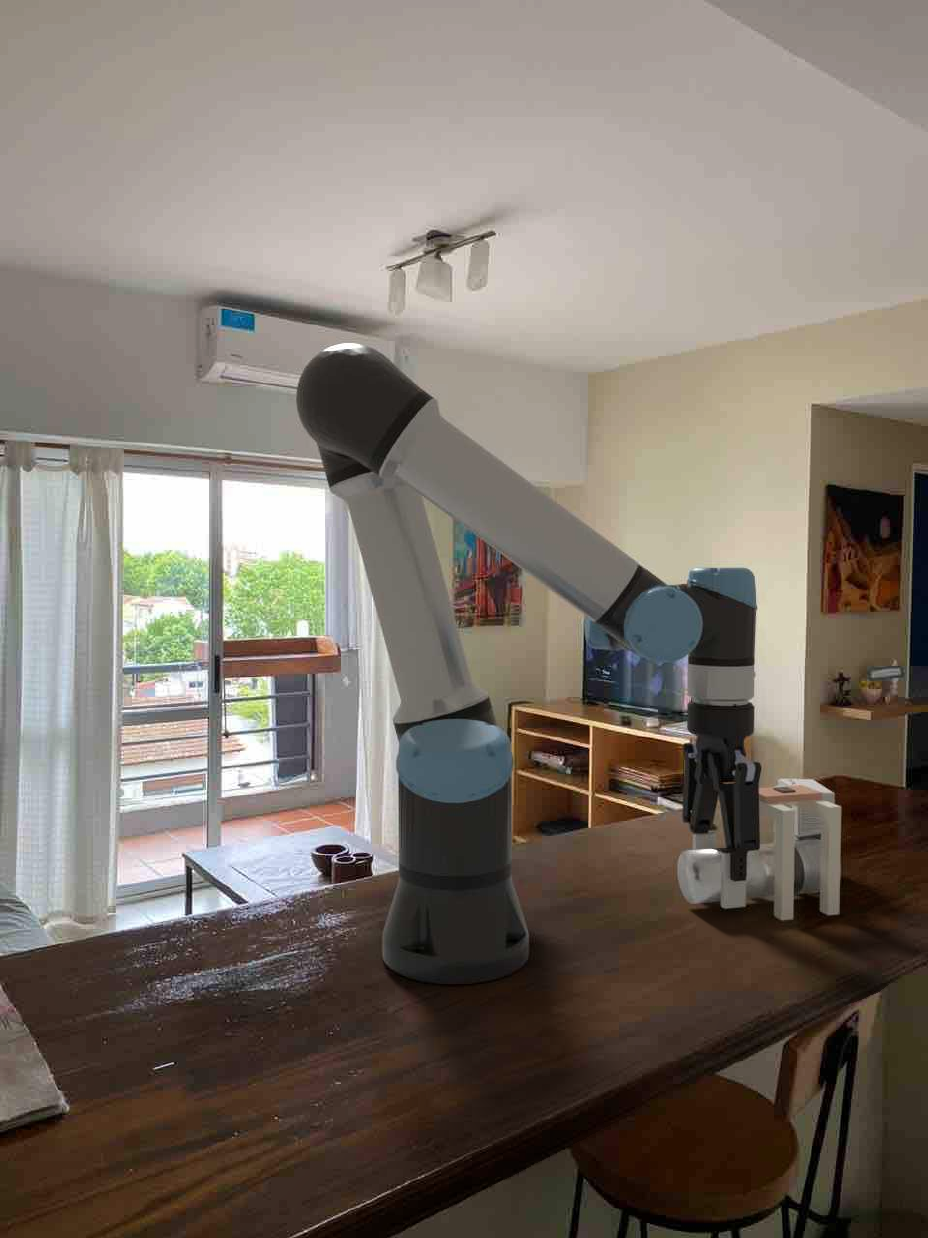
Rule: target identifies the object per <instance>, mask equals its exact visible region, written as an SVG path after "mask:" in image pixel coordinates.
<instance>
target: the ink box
mask: <svg viewBox="0 0 928 1238" xmlns="http://www.w3.org/2000/svg"><path fill="white" fill-rule="evenodd" d="M777 782H778V783H777V786H781V785H786V786H796V785H803V786H806V787H809V788H811V789H814V790H817V791H819V792H822V799H823V800H825V801H828V802H830V803H833V804H836V801H835V799H836V794H835V792H834V791H832V790H830V789H829V788H827V787H825V786H824V785H823V784H820V783H819V782H817V781H816V780H815V779H811V778H778V781H777ZM792 809H793V810H795V838H794V842H795V841H808V840H820V839H821V817H820V816H817V815H815V814H813V813H810V812H808V811H805V810H803V809H800V808H798V807H796V806H793V805H792Z"/></svg>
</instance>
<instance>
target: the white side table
mask: <svg viewBox="0 0 928 1238" xmlns="http://www.w3.org/2000/svg"><path fill="white" fill-rule="evenodd" d="M792 805H793V806H796V807H798V808H800V809H803V810H805V811H808V812H810V813H813V814H815V815H817V816H820V817H821V871H820V892H819V912H821V913H823V914H825V915H826V916H834V915H835V916H837V915H840V902H841V901H840V899H841V898H840V897H841V896H840V895H841V892H840V891H841V890H840V889H841V887H840V886H841V879H840V864H841V848H842V847H841V844H842V843H841V841H842V837H841V835H842V834H841V833H842V806H841V805H838V804H836V803H835V804H833V803H830V802H828V801H825V800H823V799H822V792H819V791H817V790H814V789H811V788H809V787H806V786H803V785H796V786H786V785H781V786H778V785H774V786H770V787H769V786H768V787H759V815H762V816H764V817H765V818H766V817H767V818H768V819H770V820H772V821H773V843H775V878H774V896H773V916H774V917H775V918H777V919H778V920H780V921H790V920H794V898H795V897H794V838H795V810H793V809H792ZM734 841H735V840H734Z"/></svg>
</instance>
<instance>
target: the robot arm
mask: <svg viewBox="0 0 928 1238" xmlns="http://www.w3.org/2000/svg"><path fill="white" fill-rule="evenodd" d="M296 387H297V388H296V397H295V402H296V411H297V413H298V417H299V419H300V423H301V425H302V427H303V428H304V430H305V431H306V433H307V434H308V435H309V437H310V438H311V439H312V440H313V441H314V442H315V443H316V445H317V449H318V452H319V453H318V454H319V455H320V460H321V463H322V467H323V470H324V474H325V478H326V481H327V484H328V488H329V491H330V493H332V495H334V496H336V497H338V498H340V499H341V500H343V501H344V503H346V504H347V508H348V510H349V511H348V512H349V515H350V519H351V522H352V527H353V529H354V533H355V537H356V540H357V544H358V549H359V552H360V555H361V559H362V563H363V567H364V570H365V575H366V578H367V581H368V584H369V588H370V592H371V596H372V600H373V603H374V607H375V611H376V615H377V617H378V621H379V625H380V629H381V632H382V636H383V641H384V644H385V648H386V651H387V654H388V655H387V656H388V658H389V662H390V666H391V669H392V674H393V676H394V681H395V684H396V688H397V691H398V694H399V695H398V696H399V699H400V704H399V706H398V708H397V709H396V711H395V713H394V716H393V717H392V722H393V726H394V730H395V733H396V734H395V735H396V736H397V742H398V749H397V752H398V753H397V754H396V760H395V770H396V772H397V777H398V779H397V782H398V785H397V787H398V789H397V790H398V791H397V792H398V794H397V795H398V798H397V800H398V881H397V882H398V883H397V885H396V889H395V893H394V896H393V898H392V902H391V906H390V908H389V912H388V914H387V918H386V921H385V924H384V927H383V931H382V937H381V942H382V943H381V944H382V947H381V949H382V953H381V954H382V959H383V963H384V964H385V965H386V966H387V967H388V968H389V969H390V970H392V971H393V972H395V973H396V974H399V975H401V976H403V977H406V978H409V979H412V980H414V981H415V980H416V981H420V982H425V983H431V984H440V985H468V984H469V985H470V984H471V985H472V984H478V983H484V982H490V981H493V980H494V981H495V980H497V979H501V978H504V977H506V976H508V975H511V974H513V973H515V972H517V971H518V970H519V969H521V968H522V967H523V966H525V964H526V963H527V962H528V959H529V957H530V956H529V954H530V935H529V934H530V933H529V930H528V927H527V924H526V920H525V917H524V914H523V911H522V908H521V904H520V902H519V898H518V896H517V895H518V894H517V892H516V890H515V889H516V888H515V885H514V882H513V874H512V873H513V872H512V871H513V869H512V868H513V866H512V864H513V863H512V860H513V857H512V855H513V854H512V853H513V852H512V851H513V849H512V848H513V845H512V844H513V842H512V841H513V838H512V837H513V832H512V831H513V830H512V829H513V824H512V823H513V822H512V820H513V819H512V818H513V817H512V815H513V809H512V808H513V805H512V804H513V803H512V802H513V801H512V800H513V799H512V798H513V797H512V795H513V794H512V789H513V788H512V787H513V786H512V784H513V781H512V780H513V779H512V777H513V776H512V775H513V771H514V764H515V763H514V761H515V760H514V755H513V752H512V744H511V743H512V742H511V740H510V739H511V738H510V737H509V736H508V734H507V732H506V731H504V730H503V729H502V728H501V727H500V726H498V724H497V719H496V717H495V716H496V715H495V713H494V708H493V705H492V701H491V698H490V694H489V691H487V690H485V689H483V688H481V687H480V686H478V685H476V684H474V682H473V681H472V677H471V674H470V669H469V665H468V661H467V657H466V655H465V654H466V653H465V651H464V650H465V649H464V648H463V643H462V640H461V636H460V633H459V629H458V625H457V621H456V617H455V613H454V610H453V606H452V603H451V599H450V596H449V591H448V587H447V584H446V580H445V576H444V573H443V570H442V565H441V561H440V558H439V557H440V556H439V554H438V549H437V547H436V543H435V539H434V536H433V535H434V534H433V532H432V529H431V528H432V527H431V525H430V521H429V517H428V514H427V509H426V506H425V503H424V502H425V501H424V498H425V499H426V500H427V501H428V502H430V503H431V504H433V505H434V506H436V507H437V508H438V509H440V510H441V511H442V512H443V513H446V514H447V515H448V516H449V517H450V518H452V519H453V520H455V522H458V523H459V524H460V525H461V526H463V527H464V528H465V529H467V530H468V531H470V532H471V533H473V535H475V536H476V537H477V538H479V539H481V540H482V541H483V542H485V544H487V545H489V546H490V547H491V548H493V549H494V550H495V551H497V552H498V553H499V554H501V555H502V556H504V557H505V558H506V559H507V560H509V561H510V562H512V563H513V564H514V565H516V566H517V567H519V568H520V569H521V570H523V571H524V572H525V573H526V574H528V575H529V576H531V577H532V578H534V580H536V581H537V582H538V583H540V584H541V585H543V586H544V587H546V588H547V589H548V590H550V591H551V592H552V593H554V594H555V595H557V596H558V597H559V598H560V599H562V600H563V601H564V602H566V604H567V603H568V604H569V606H571V607H572V608H574V609H576V610H577V611H578V612H580V613H581V614H583V624H584V625H583V626H584V637H585V641H586V644H587V645H588V646H589V647H590V648H591V649H595V650H609V651H610V652H611V651H612V652H614V651H617V650H622V651H623V650H625V651H626V650H627V651H630V652H632V653H634V654H635V655H636V656H638V657H639V658H641V659H642V660H643V661H646V662H648V663H653V664H662V663H663V664H668V663H673V662H677V661H679V660H682V659H684V658H685V657H687V685H686V686H687V689H686V691H687V693H686V695H687V696H688V697H689V698H691V700H690V701H689V702H688V703H687V705H686V706H687V707H686V709H687V714H686V715H687V716H686V718H687V719H686V722H687V723H686V724H687V725H686V728H687V731H688V732H689V733H690V734H692V735H694V736H696V740H695V742H685V743H683V745H682V751H683V759H684V768H683V769H684V770H683V771H684V772H683V773H684V774H683V791H682V792H683V796H682V813H681V815H682V821H683V823H685V824H688V825H689V830H690V832H691V833H692V850H697V849H709V848H717V834H716V833H715V832H710V831H717V830H718V827H717V825H716V824H715V823H714V821H715V816H716V810H717V804H718V800H719V804H720V805H719V807H720V813H721V820H722V828H723V834H724V841H725V847H726V848H722V847H719V848H720V849H721V852H722V854H721V901H720V907H721V908H723V909H735V908H745V907H747V906H746V905H747V904H746V902H747V899H746V877H747V872H746V871H747V853H748V852H749V851H754V850H759V849H760V844H761V834H760V829H761V828H760V814H759V788H760V786H759V785H760V778H761V773H762V765H761V762H759V761H753V762H752V761H750V760H749V759H748V758H747V752H746V749H745V743H744V741H745V740H746V738H749V737H751V736H752V735H753V734H754V733H755V705H753V703H752V702H750V701H751V700H752V699H753V698H754V697H755V678H756V672H755V663H756V662H755V660H756V659H755V657H756V656H755V655H756V632H757V631H756V628H757V626H756V625H757V611H758V606H757V588H756V578H755V575H754V572H752V570H751V569H749V568H748V567H693V568H691V569H690V570H689V573H688V579H687V580H686V583H681V584H667V583H666V582H664V581H663V580H661V579H660V578H659V577H658V576H656V575H655V574H653V572H651V571H650V570H648V569H646V568H645V567H644V566H642V565H640V564H639V562H638V561H637V560H635V559H634V558H632V557H631V556H630V555H629V554H627V553H626V552H624V551H623V550H621V549H620V548H619V547H618V546H616V545H615V544H614V543H612V542H611V541H609V539H606V537H604V536H603V535H602V534H600V533H599V532H597V531H596V530H595V529H593V528H592V527H591V526H589V525H588V524H587V523H585V522H584V521H582V519H580V518H579V517H577V516H576V515H574V514H573V513H572V512H571V511H569V510H568V509H567V508H565V507H563V506H562V505H561V504H559V502H557V501H556V500H554V498H552V497H550V496H549V495H548V494H546V493H545V492H544V491H542V490H541V489H540V488H538V487H537V486H536V485H534V484H533V483H532V482H530V481H528V480H527V479H526V478H524V476H522V475H521V474H520V473H518V472H517V471H515V470H514V469H513V468H511V467H509V465H508V464H506V463H504V462H503V461H502V460H501V459H499V458H498V457H497V456H495V455H494V454H493V453H491V452H490V451H488V450H487V449H486V448H485V447H484V446H481V444H479V443H478V442H477V441H475V440H474V439H473V438H471V437H470V436H468V435H467V434H466V433H464V432H463V431H462V430H460V429H459V428H457V426H455V425H454V424H452V423H451V422H450V421H449V420H447V419H445V417H443V416H442V415H441V413H440V408H439V401H438V400H437V399H436V398H434V397H433V396H432V395H431V394H429V393H428V392H426V390H424V389H422V388H421V387H420V386H419V385H418V384H417V383H415V382H414V381H413V380H412V379H411V378H409V376H407V375H406V373H404V372H403V371H402V370H400V368H399V367H397V366H396V364H395V363H394V362H393V361H391V360H390V359H389V358H388V357H387V356H386V355H385V354H383V353H382V352H380V351H378V350H377V349H375V348H373V347H370V346H368V345H364V344H359V343H352V342H351V343H340V344H336V345H331V346H330V347H328V348H326V349H324V350H322V351H320V352H318V353H317V354H316V355H315V356H314V357H313V358H311V360H310V361H309V362H308V363H307V364H306V366H305V367H304V369H303V371H302V373H301V375H300V377H299V379H298V383H297V386H296ZM749 700H750V701H749ZM734 840H735V841H734Z"/></svg>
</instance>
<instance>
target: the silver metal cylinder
mask: <svg viewBox="0 0 928 1238" xmlns="http://www.w3.org/2000/svg"><path fill="white" fill-rule="evenodd" d="M720 848H726V846H724V847H716V848H709V849H697V850H693V849H687V850H686V849H685V850H683V851H681V852H680V854H679V856H678V860H677V868H676V870H677V880H678V884H679V888H680V891H681V893H682V895H683V897H684V898H685V900H686V901H687V902H688V903H690V904H692V905H695V904H703V903H704V904H706V903H715V902H721V854H722V852H721V849H720ZM820 871H821V839H820V840H808V841H795V842H794V895H799V894H809V893H820ZM746 872H747V877H746V900H747V899H756V898H768V897H774V878H775V843H774V842H772V843H760V849H759V850H754V851H749V852H748V853H747V871H746ZM841 877H842V865H841V863H840V880H841Z"/></svg>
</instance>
